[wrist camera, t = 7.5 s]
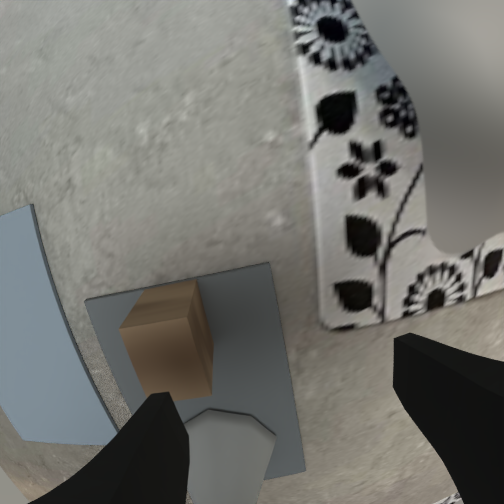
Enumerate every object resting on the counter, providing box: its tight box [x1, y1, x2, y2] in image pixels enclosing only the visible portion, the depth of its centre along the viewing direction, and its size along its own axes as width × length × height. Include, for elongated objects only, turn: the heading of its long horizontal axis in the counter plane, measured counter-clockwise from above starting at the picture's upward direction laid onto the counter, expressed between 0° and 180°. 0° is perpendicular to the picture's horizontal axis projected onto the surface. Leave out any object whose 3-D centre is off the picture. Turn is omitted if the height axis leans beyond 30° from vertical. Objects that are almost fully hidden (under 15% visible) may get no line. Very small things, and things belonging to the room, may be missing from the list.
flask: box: [184, 410, 277, 504], centre depth 15 cm, size 7×7×10 cm
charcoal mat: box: [84, 262, 306, 480], centre depth 17 cm, size 18×11×5 cm, turn 11°
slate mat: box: [0, 204, 119, 445], centre depth 17 cm, size 18×11×1 cm, turn 11°
